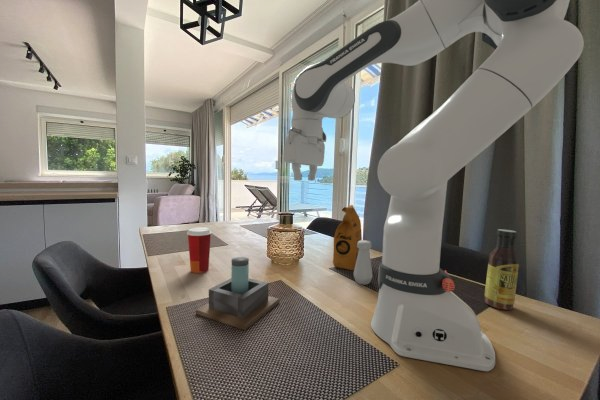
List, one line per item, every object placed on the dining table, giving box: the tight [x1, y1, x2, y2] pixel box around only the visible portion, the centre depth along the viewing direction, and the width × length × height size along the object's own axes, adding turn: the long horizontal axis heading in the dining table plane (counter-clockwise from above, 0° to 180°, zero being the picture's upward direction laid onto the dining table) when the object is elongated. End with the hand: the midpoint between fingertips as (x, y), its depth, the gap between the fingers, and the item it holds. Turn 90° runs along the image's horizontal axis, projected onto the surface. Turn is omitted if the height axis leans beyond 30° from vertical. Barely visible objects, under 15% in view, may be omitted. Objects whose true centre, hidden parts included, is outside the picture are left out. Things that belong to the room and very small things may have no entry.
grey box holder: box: [195, 277, 280, 331], centre depth 64 cm, size 14×14×6 cm
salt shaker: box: [353, 239, 373, 286], centre depth 82 cm, size 6×6×13 cm
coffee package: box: [332, 204, 363, 271], centre depth 98 cm, size 10×12×22 cm
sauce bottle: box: [484, 228, 520, 311], centre depth 68 cm, size 7×6×20 cm
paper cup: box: [186, 227, 213, 274], centre depth 88 cm, size 8×8×14 cm
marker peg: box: [230, 256, 250, 295], centre depth 64 cm, size 4×4×11 cm
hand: (305, 180), depth 77 cm, fingers open, 8 cm apart
